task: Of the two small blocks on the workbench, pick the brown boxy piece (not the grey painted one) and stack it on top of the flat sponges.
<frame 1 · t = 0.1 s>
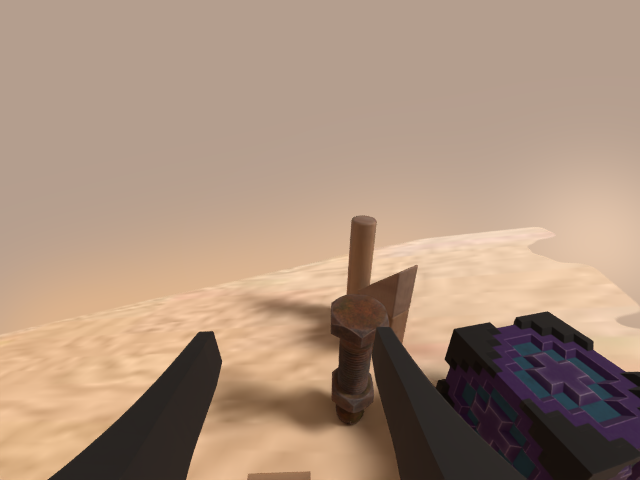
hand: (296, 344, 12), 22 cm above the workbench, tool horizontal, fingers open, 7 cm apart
energy cube: (515, 448, 27), on the workbench
wooden block: (369, 329, 42), on the workbench
bolt: (349, 413, 30), on the workbench
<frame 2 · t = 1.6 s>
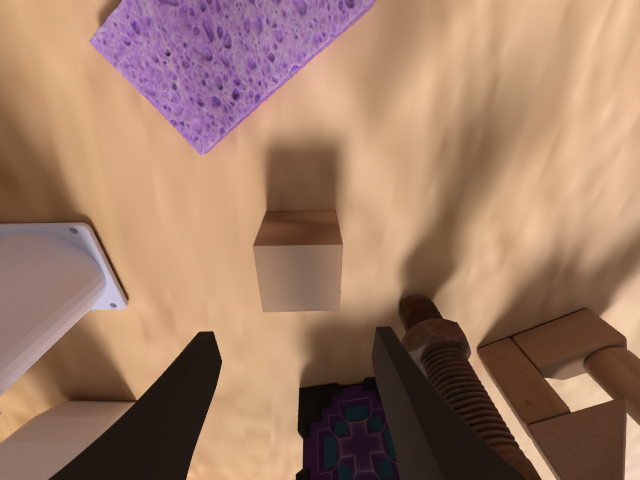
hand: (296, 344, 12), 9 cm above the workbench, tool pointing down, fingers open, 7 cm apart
brown boxy piece: (302, 240, 20), on the workbench
energy cube: (357, 406, 32), on the workbench
sponges: (239, 29, 14), on the workbench
wooden block: (529, 336, 26), on the workbench
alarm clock: (120, 428, 33), on the workbench
bolt: (413, 304, 24), on the workbench
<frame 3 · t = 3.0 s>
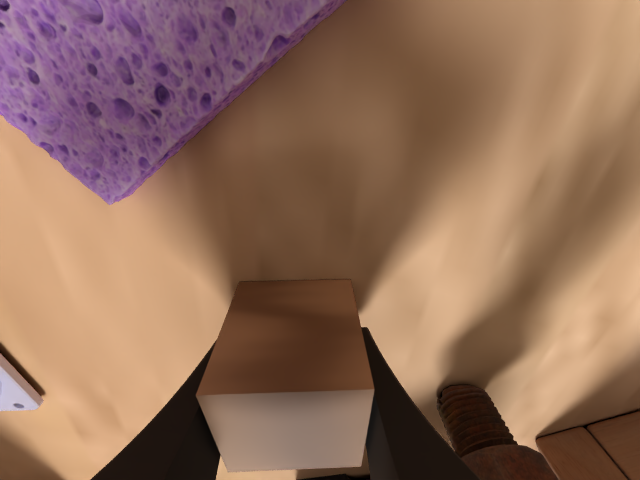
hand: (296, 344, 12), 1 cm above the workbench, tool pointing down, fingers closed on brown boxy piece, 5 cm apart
brown boxy piece: (297, 320, 13), on the workbench, touching gripper
wooden block: (608, 423, 19), on the workbench
bolt: (457, 391, 17), on the workbench
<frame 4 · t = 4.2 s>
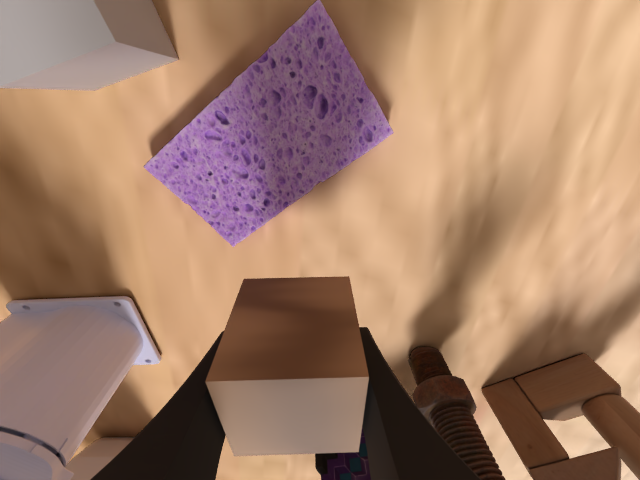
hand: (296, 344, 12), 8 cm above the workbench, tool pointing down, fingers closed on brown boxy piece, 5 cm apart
brown boxy piece: (299, 315, 13), point 6 cm above the workbench, touching gripper
energy cube: (369, 437, 34), on the workbench
sponges: (270, 144, 16), on the workbench
wooden block: (531, 376, 28), on the workbench
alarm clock: (147, 459, 35), on the workbench
grey block: (104, 16, 12), on the workbench
bolt: (422, 352, 26), on the workbench
when the fingers open (4 cm above the workbench, at t = 5.9 s): brown boxy piece stays where it is, resting on sponges.
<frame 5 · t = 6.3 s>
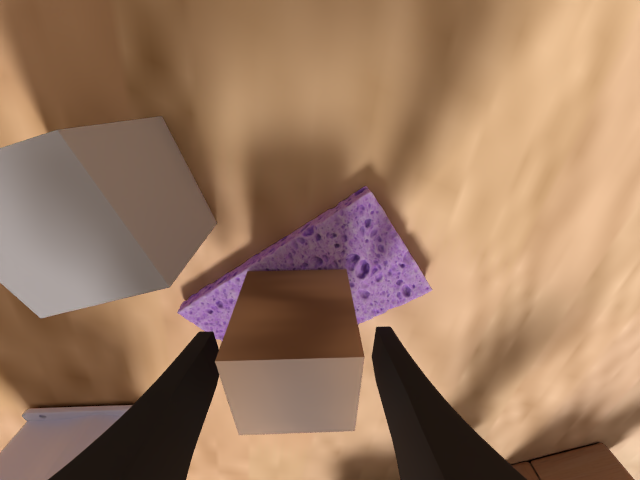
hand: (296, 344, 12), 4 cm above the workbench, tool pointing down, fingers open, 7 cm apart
brown boxy piece: (299, 306, 14), point 1 cm above the workbench, touching sponges
sponges: (303, 279, 16), on the workbench, touching brown boxy piece
wooden block: (546, 458, 28), on the workbench
grey block: (143, 188, 12), on the workbench
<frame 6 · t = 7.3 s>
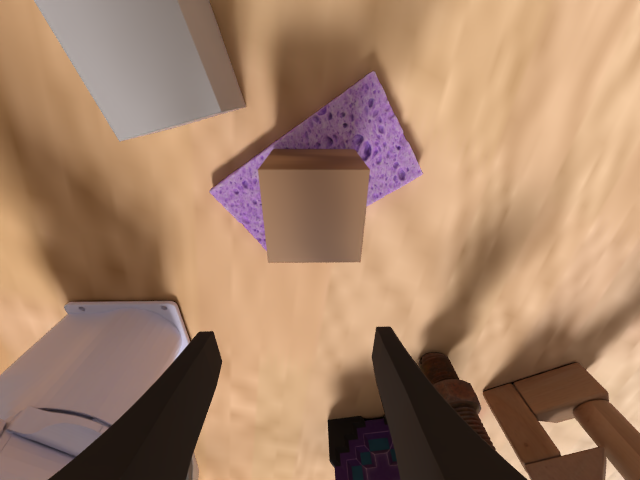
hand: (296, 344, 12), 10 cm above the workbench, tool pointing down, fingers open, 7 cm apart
brown boxy piece: (314, 188, 17), point 1 cm above the workbench, touching sponges
energy cube: (376, 434, 36), on the workbench
sponges: (314, 175, 19), on the workbench, touching brown boxy piece
wooden block: (528, 382, 31), on the workbench
grey block: (188, 70, 15), on the workbench
bolt: (431, 357, 28), on the workbench
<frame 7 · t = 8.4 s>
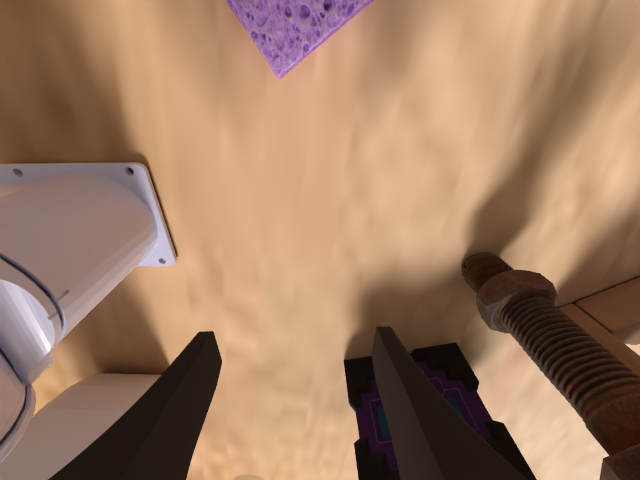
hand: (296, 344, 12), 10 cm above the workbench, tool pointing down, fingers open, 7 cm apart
energy cube: (400, 381, 31), on the workbench
wooden block: (591, 303, 25), on the workbench
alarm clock: (152, 405, 31), on the workbench
bolt: (476, 263, 22), on the workbench
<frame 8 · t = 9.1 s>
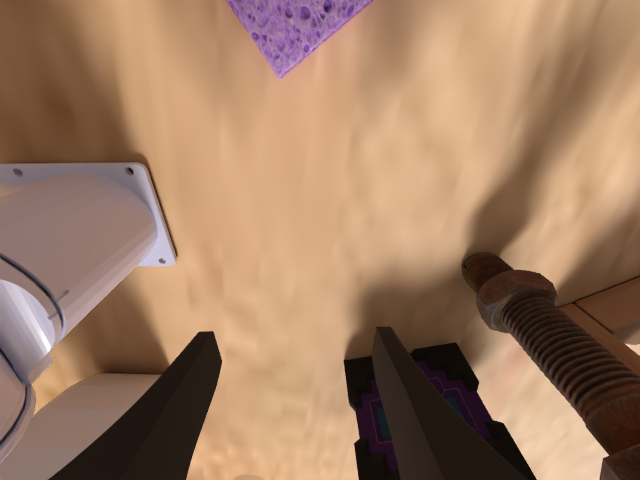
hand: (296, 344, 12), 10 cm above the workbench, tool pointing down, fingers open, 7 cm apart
energy cube: (400, 381, 31), on the workbench
wooden block: (591, 303, 25), on the workbench
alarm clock: (152, 405, 31), on the workbench
bolt: (476, 263, 22), on the workbench
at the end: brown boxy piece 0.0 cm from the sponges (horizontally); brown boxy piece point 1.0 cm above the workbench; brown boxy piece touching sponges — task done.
